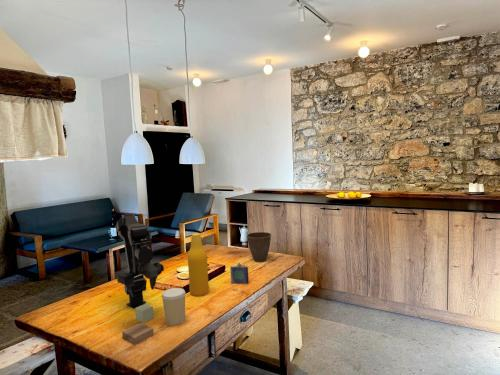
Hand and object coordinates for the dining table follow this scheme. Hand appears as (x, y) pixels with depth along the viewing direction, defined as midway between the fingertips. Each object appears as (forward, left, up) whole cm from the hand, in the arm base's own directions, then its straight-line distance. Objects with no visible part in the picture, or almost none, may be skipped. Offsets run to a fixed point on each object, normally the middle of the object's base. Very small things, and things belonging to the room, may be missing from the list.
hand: (143, 293), depth 142 cm
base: (+10, -10, -11) cm, 18 cm away
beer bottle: (0, +31, -11) cm, 33 cm away
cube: (0, 0, -11) cm, 11 cm away
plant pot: (-4, +86, -11) cm, 87 cm away
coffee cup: (+12, +6, -11) cm, 18 cm away
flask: (+9, +51, -11) cm, 53 cm away
